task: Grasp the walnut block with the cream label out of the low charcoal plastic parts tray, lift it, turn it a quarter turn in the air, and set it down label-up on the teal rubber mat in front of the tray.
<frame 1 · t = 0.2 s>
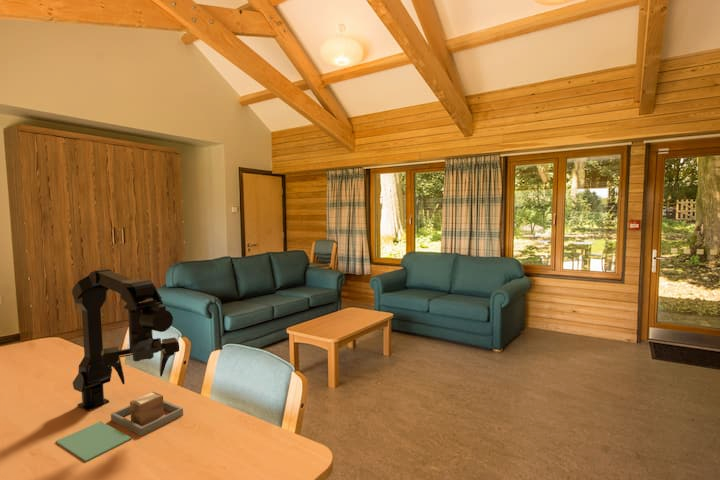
hand: (142, 379, 109), 14 cm above the table, fingers open, 9 cm apart
mat: (93, 440, 103), on the table
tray: (147, 417, 114), on the table
walnut block: (147, 407, 114), in the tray
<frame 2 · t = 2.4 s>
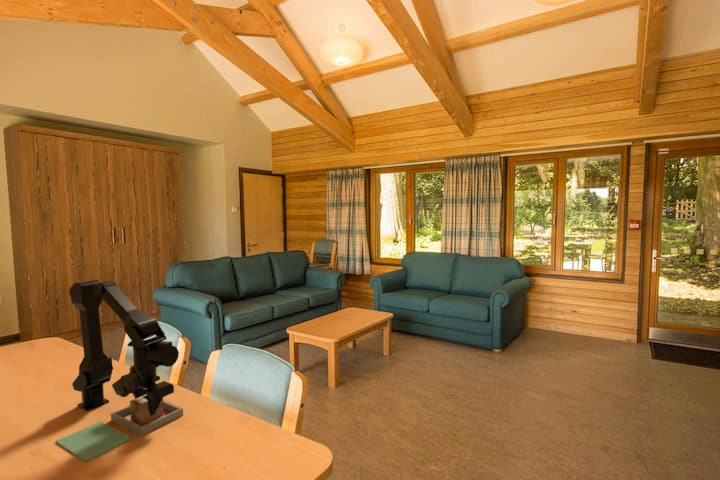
hand: (147, 412, 114), 2 cm above the table, fingers closed on walnut block, 5 cm apart
walnut block: (147, 407, 114), in the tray, touching gripper
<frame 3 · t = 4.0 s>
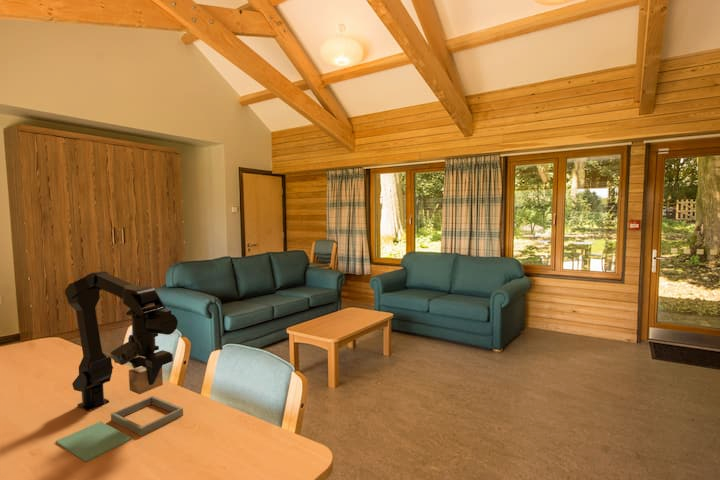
hand: (146, 382, 114), 11 cm above the table, fingers closed on walnut block, 5 cm apart
walnut block: (146, 377, 114), point 12 cm above the table, touching gripper
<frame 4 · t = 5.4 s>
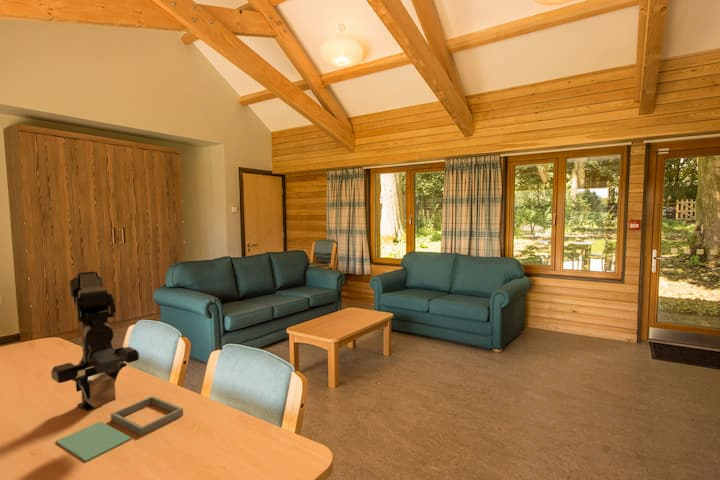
hand: (99, 394, 104), 12 cm above the table, fingers closed on walnut block, 5 cm apart
walnut block: (99, 388, 103), point 14 cm above the table, touching gripper
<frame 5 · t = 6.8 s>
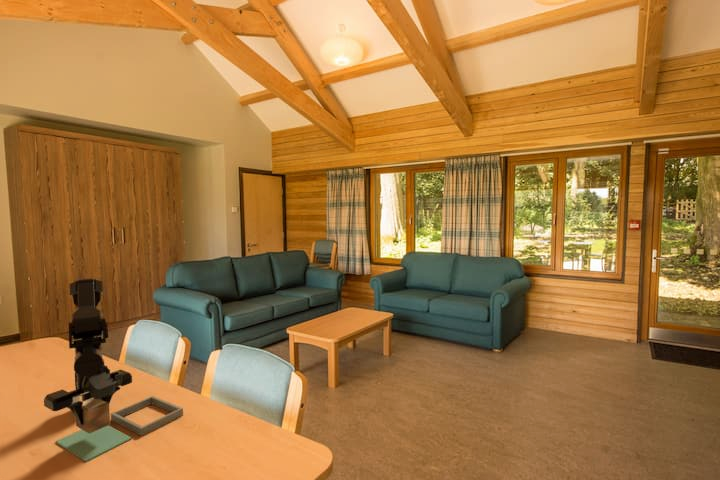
hand: (92, 419, 103), 6 cm above the table, fingers closed on walnut block, 5 cm apart
walnut block: (92, 414, 103), point 7 cm above the table, touching gripper
when the fingers open (3 cm above the table, at t = 8.1 s): walnut block drops 2 cm, resting on mat.
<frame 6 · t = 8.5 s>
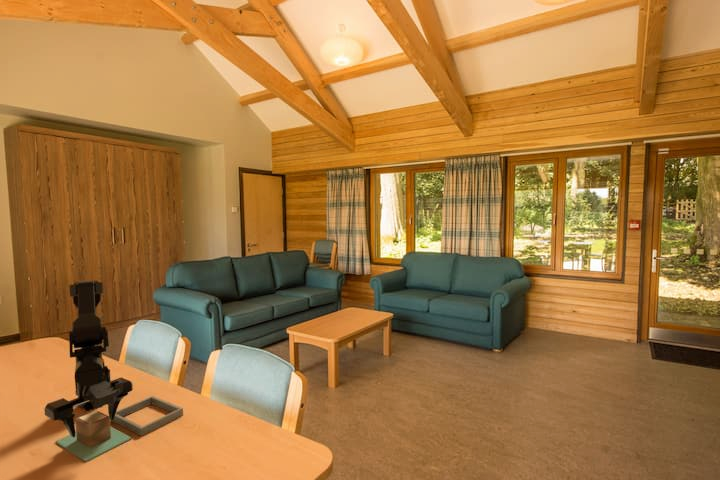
hand: (93, 428, 103), 3 cm above the table, fingers open, 9 cm apart
walnut block: (93, 428, 103), on the mat
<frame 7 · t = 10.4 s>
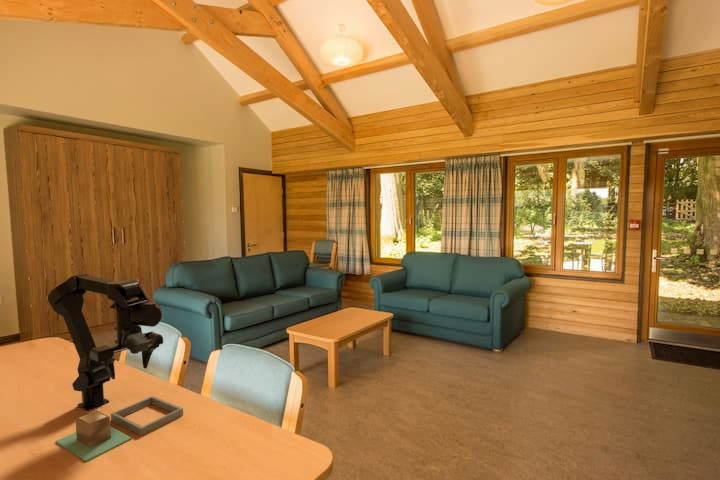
hand: (129, 373, 117), 12 cm above the table, fingers open, 9 cm apart
nothing on the table moved.
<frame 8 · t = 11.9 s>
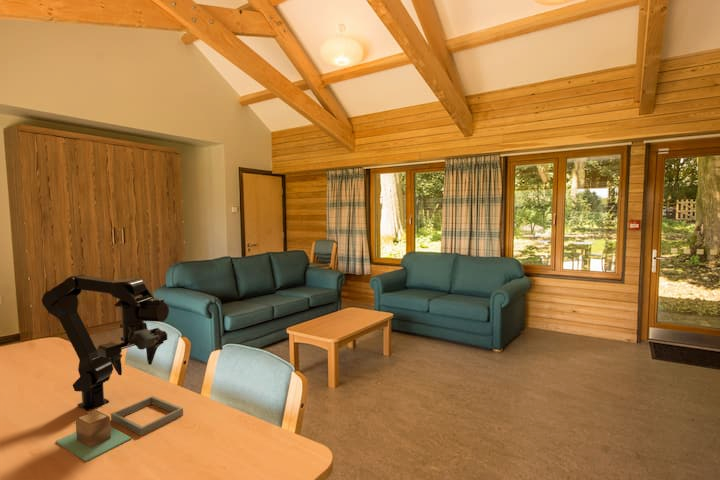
hand: (135, 369, 120), 12 cm above the table, fingers open, 9 cm apart
nothing on the table moved.
at the end: walnut block inside the target area on the mat (0.0 cm from its centre), point 3.5 cm above the mat's base; walnut block tilted 0°; the gripper is holding nothing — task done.
